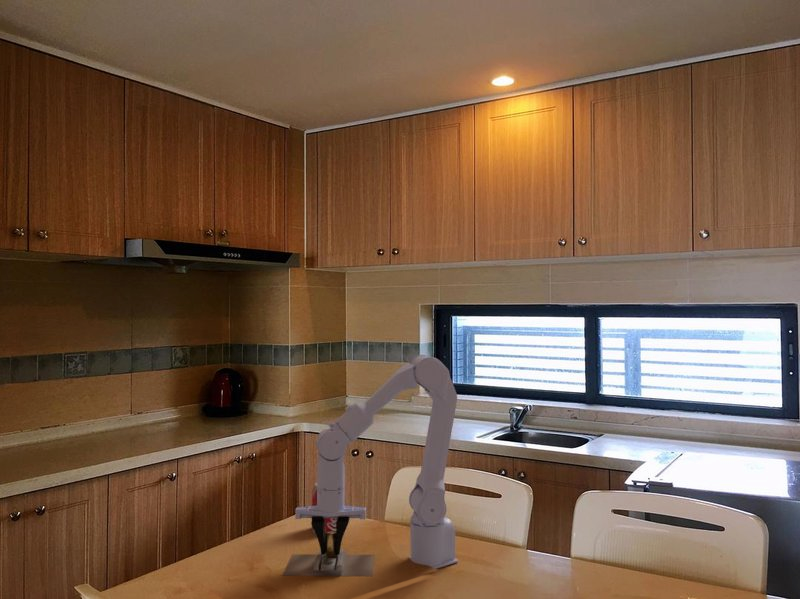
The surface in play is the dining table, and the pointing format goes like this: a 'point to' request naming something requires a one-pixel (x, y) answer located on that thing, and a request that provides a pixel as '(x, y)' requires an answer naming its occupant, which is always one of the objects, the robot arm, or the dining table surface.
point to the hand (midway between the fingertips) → (330, 553)
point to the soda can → (330, 522)
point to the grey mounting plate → (330, 565)
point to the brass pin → (330, 544)
